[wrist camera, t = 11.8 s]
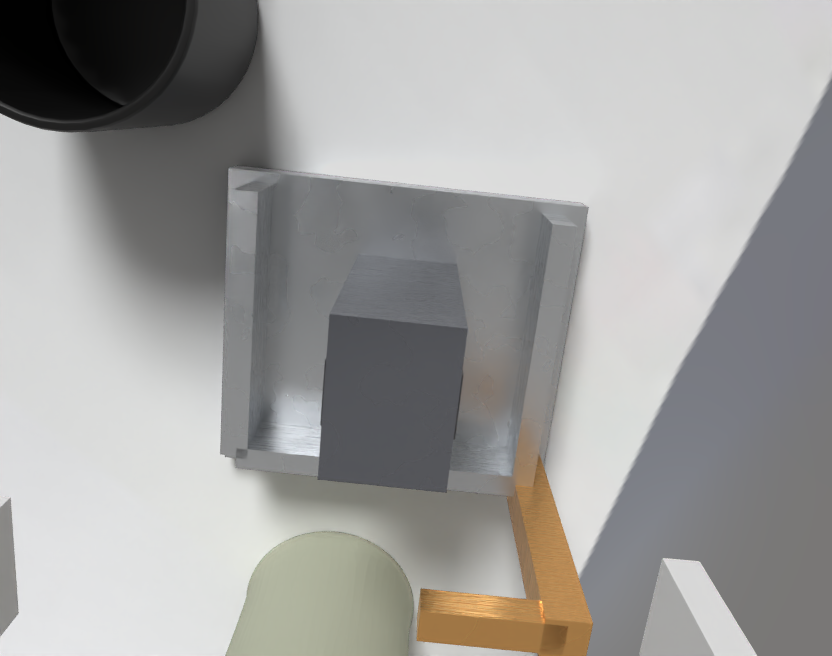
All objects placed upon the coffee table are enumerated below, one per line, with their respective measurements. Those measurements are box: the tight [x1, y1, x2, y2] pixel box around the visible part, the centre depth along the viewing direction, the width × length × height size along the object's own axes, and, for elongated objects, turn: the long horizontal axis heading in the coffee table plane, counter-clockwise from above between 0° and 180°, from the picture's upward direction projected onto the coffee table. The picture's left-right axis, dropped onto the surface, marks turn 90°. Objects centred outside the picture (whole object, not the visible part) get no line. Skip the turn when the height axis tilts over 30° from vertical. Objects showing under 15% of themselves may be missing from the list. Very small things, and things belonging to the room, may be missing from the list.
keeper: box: [220, 165, 593, 656], centre depth 29 cm, size 16×14×14 cm
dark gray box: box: [318, 254, 468, 493], centre depth 29 cm, size 5×6×10 cm
